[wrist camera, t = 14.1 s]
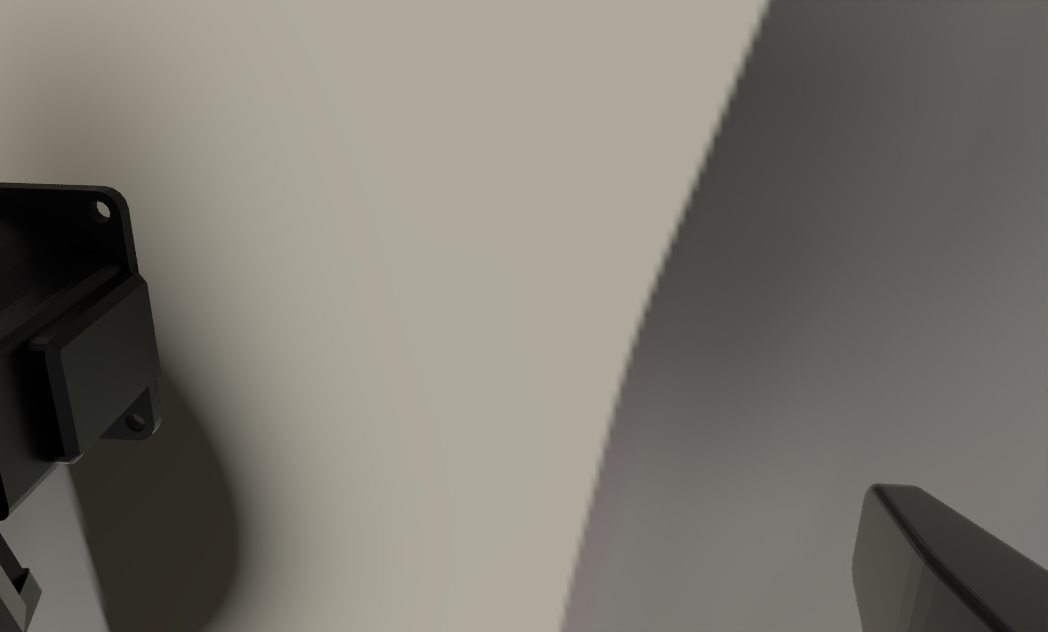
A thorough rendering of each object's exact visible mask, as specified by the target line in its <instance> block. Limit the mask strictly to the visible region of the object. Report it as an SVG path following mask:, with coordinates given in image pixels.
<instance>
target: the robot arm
mask: <svg viewBox="0 0 1048 632" xmlns="http://www.w3.org/2000/svg"><path fill="white" fill-rule="evenodd" d="M97 201H99V202H102V203H104V204H105V205H106V206H107V207H108V209H109V211H110V218H108V217H105V216H103V215H102V214H101V213H100V212H99V211H98V208H97ZM159 374H160V363H159V357H158V351H157V345H156V338H155V332H154V325H153V319H152V312H151V306H150V299H149V293H148V286H147V283H146V281H145V280H144V279H143V277H142V276H141V275H140V274H139V271H138V264H137V258H136V252H135V245H134V239H133V233H132V227H131V221H130V214H129V208H128V205H127V202H126V200H125V198H124V197H123V196H122V195H121V193H120V192H118V191H116V190H115V189H113V188H110V187H106V186H88V185H59V184H57V185H56V184H29V183H28V184H27V183H0V521H2V520H5V519H6V518H7V517H8V516H9V515H10V514H11V513H12V512H13V511H14V510H15V509H16V508H17V507H18V506H19V505H20V504H21V503H22V502H23V501H24V500H25V499H26V498H27V497H28V496H29V495H30V494H31V493H32V491H33V490H34V489H35V488H36V487H37V486H38V485H39V484H40V483H41V482H42V481H43V480H44V479H45V478H46V477H47V476H48V475H49V474H50V473H51V472H52V471H53V470H54V469H55V468H56V467H57V466H58V465H59V464H73V463H75V462H76V461H77V460H78V459H79V458H80V457H81V456H82V455H83V454H84V453H85V452H86V451H87V450H88V449H89V448H90V447H91V446H92V445H93V444H94V442H95V441H96V440H97V439H98V438H105V439H126V440H144V439H147V438H148V437H150V436H151V435H152V434H153V433H154V432H155V431H156V429H157V428H158V427H159V425H160V424H161V417H162V416H161V410H160V403H159V397H158V391H157V385H156V378H157V377H158V376H159ZM133 414H136V415H139V416H140V417H142V418H143V419H144V422H145V424H142V423H139V422H137V421H136V420H135V419H134V417H133ZM852 578H853V585H854V590H855V595H856V600H857V605H858V610H859V615H860V620H861V625H862V629H863V632H1048V570H1046V569H1045V568H1043V567H1042V566H1040V565H1038V564H1037V563H1035V562H1034V561H1032V560H1031V559H1029V558H1028V557H1026V556H1025V555H1023V554H1021V553H1020V552H1018V551H1017V550H1015V549H1014V548H1012V547H1011V546H1009V545H1007V544H1006V543H1004V542H1003V541H1001V540H1000V539H998V538H997V537H995V536H994V535H992V534H990V533H989V532H987V531H986V530H984V529H983V528H981V527H980V526H978V525H977V524H975V523H973V522H972V521H970V520H969V519H967V518H966V517H964V516H963V515H961V514H959V513H958V512H956V511H955V510H953V509H952V508H950V507H949V506H947V505H946V504H944V503H942V502H941V501H939V500H938V499H936V498H935V497H933V496H932V495H930V494H929V493H927V492H925V491H924V490H922V489H921V488H919V487H917V486H913V485H901V484H881V483H878V484H873V485H871V486H870V487H869V488H868V490H867V491H866V494H865V496H864V500H863V505H862V511H861V516H860V521H859V526H858V532H857V537H856V542H855V548H854V553H853V559H852ZM41 593H42V588H41V587H40V585H39V583H38V582H37V580H36V579H35V577H34V575H33V574H32V572H31V571H30V569H28V568H23V569H22V567H21V566H20V564H19V562H18V561H17V559H16V558H15V556H14V554H13V553H12V551H11V550H10V548H9V546H8V545H7V543H6V542H5V540H4V538H3V537H2V535H1V534H0V632H27V629H28V627H29V624H30V622H31V619H32V617H33V614H34V611H35V609H36V606H37V604H38V601H39V599H40V596H41Z"/></svg>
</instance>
